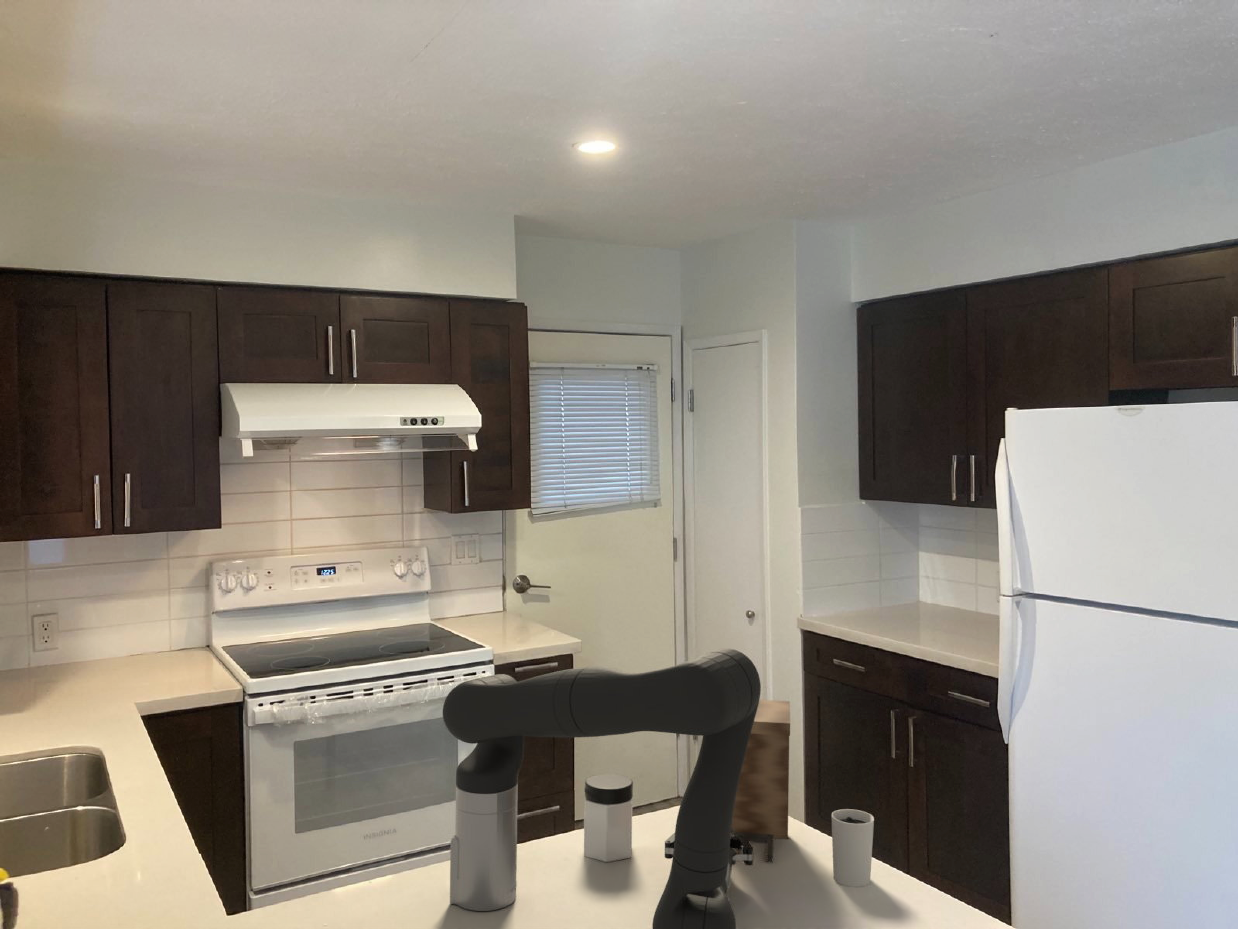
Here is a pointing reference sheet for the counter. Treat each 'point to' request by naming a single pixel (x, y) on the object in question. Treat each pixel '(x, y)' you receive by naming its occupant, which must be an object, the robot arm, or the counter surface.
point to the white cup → (852, 847)
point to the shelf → (765, 778)
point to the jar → (608, 817)
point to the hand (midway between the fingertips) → (712, 830)
